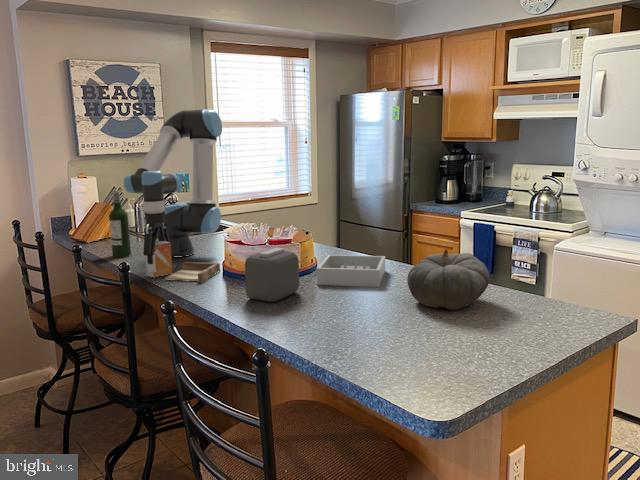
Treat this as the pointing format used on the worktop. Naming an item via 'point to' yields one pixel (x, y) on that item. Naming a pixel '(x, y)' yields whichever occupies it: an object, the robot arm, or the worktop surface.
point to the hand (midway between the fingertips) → (159, 268)
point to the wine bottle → (119, 229)
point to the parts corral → (351, 271)
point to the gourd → (448, 280)
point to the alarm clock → (271, 275)
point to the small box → (161, 259)
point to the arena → (195, 271)
